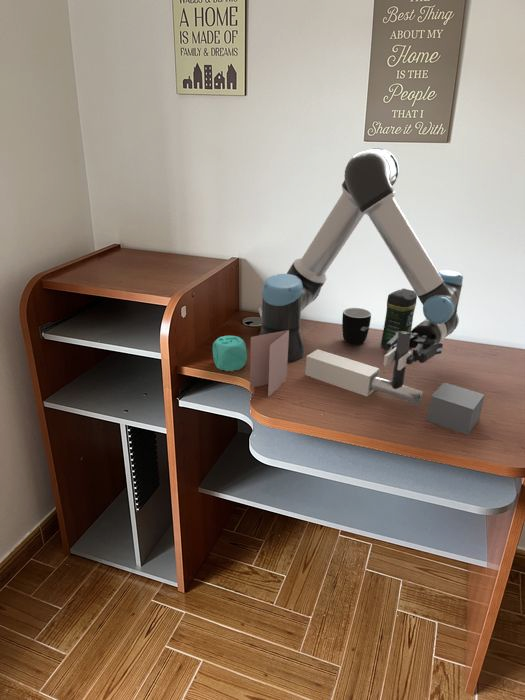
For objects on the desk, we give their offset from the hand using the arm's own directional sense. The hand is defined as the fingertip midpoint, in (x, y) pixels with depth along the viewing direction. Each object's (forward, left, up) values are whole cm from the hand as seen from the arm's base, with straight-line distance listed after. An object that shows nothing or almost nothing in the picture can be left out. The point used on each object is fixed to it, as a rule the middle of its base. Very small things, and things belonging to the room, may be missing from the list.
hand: (392, 362), depth 132 cm
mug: (-26, +34, -13) cm, 45 cm away
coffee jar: (-14, +38, -13) cm, 43 cm away
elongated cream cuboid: (-15, +5, -13) cm, 21 cm away
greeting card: (-28, -10, -13) cm, 33 cm away
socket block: (+16, +5, -13) cm, 21 cm away
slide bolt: (-6, +5, -12) cm, 14 cm away
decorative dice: (-47, -7, -13) cm, 49 cm away
